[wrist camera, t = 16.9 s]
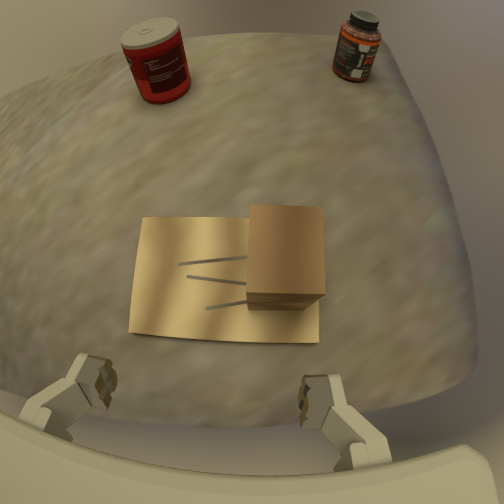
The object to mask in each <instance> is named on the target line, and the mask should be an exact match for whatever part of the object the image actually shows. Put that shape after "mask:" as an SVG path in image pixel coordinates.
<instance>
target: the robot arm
mask: <svg viewBox="0 0 504 504" xmlns="http://www.w3.org/2000/svg"><path fill="white" fill-rule="evenodd" d="M112 365H113V364H112V362H111V360H110V359H106V358H101V357H97V356H92V355H88V354H84V353H80V354H78V355H77V357H76V359H75V361H74V363H73V364H72V366H71V368H70V370H69V372H68V374H67V375H66V377H65V378H61V379H60V380H58V381H56V382H55V383H53V384H52V385H50V386H48V387H47V388H45V389H44V390H42V391H40V392H39V393H37V394H36V395H34V396H32V397H31V398H29V399H28V400H27V402H26V404H25V405H24V407H23V409H22V411H21V413H20V415H19V417H18V419H16V418H13V417H11V416H10V415H8V414H5V413H4V412H2V411H0V504H499V499H498V495H497V490H496V486H495V481H494V478H493V474H492V471H491V468H490V465H489V463H488V461H487V459H486V458H485V457H484V456H482V455H481V454H480V453H479V452H477V451H476V450H474V449H473V448H471V447H469V446H467V445H466V444H458V445H454V446H451V447H448V448H445V449H442V450H439V451H436V452H433V453H429V454H426V455H422V456H418V457H415V458H410V459H406V460H402V461H398V462H394V463H393V462H392V458H391V454H390V450H389V447H388V443H387V439H386V437H385V436H384V435H382V433H380V432H379V431H378V430H377V429H376V428H375V427H374V426H373V425H372V424H370V423H369V422H368V421H367V420H366V419H365V418H364V417H363V416H362V415H361V414H360V413H359V412H357V411H356V410H355V409H354V408H353V407H352V406H351V405H347V401H346V397H345V393H344V389H343V384H342V380H341V376H340V375H339V374H334V375H304V376H303V377H302V386H301V387H300V388H299V394H298V406H299V408H300V410H301V413H300V426H301V429H321V431H322V432H323V433H324V435H325V436H326V437H327V438H328V440H329V441H330V442H331V443H332V445H333V446H334V447H335V448H336V449H337V451H338V452H339V453H340V454H341V456H342V458H341V459H340V460H339V462H338V463H337V464H336V465H335V467H334V472H331V473H321V474H309V475H289V476H250V475H249V476H248V475H229V474H216V473H206V472H197V471H189V470H181V469H175V468H169V467H164V466H158V465H153V464H148V463H143V462H139V461H134V460H130V459H126V458H122V457H118V456H114V455H110V454H107V453H104V452H100V451H97V450H94V449H90V448H87V447H84V446H81V445H78V444H75V443H72V440H73V438H72V436H71V435H70V433H69V432H68V431H67V430H66V429H67V428H68V427H69V426H70V425H71V424H73V423H74V422H75V421H76V420H77V419H78V418H79V417H80V416H81V415H83V414H84V413H85V412H86V411H88V410H89V409H90V408H91V406H93V407H98V408H102V409H107V410H108V407H109V405H110V402H111V399H112V397H111V393H112V392H114V391H115V389H116V386H117V374H116V371H115V370H114V369H112V368H111V367H112Z"/></svg>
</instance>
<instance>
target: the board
mask: <svg viewBox="0 0 504 504" xmlns="http://www.w3.org/2000/svg"><path fill="white" fill-rule="evenodd" d="M248 232H249V218H221V217H143V221H142V226H141V232H140V238H139V245H138V251H137V258H136V265H135V273H134V281H133V289H132V298H131V308H130V319H129V332H131V333H138V334H147V335H156V336H166V337H176V338H188V339H201V340H217V341H236V342H264V343H319V300H317V301H316V302H314V303H313V304H312V305H310V306H309V307H308V308H306V309H305V310H304V311H270V310H248V306H247V297H246V279H247V255H248Z"/></svg>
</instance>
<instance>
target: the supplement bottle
mask: <svg viewBox="0 0 504 504" xmlns="http://www.w3.org/2000/svg"><path fill="white" fill-rule="evenodd" d="M378 24H379V19H378V18H377V17H376V16H375V15H373V14H371V13H369V12H366V11H362V10H353V11H352V12H351V15H350V20H346V21H344V22H343V23H342V25H341V29H340V34H339V38H338V43H337V47H336V52H335V56H334V61H333V69H334V70H335V72H336V73H337V74H338V75H340V76H341V77H343V78H345V79H348V80H351V81H363V80H366V79H367V78H368V76H369V74H370V71H371V68H372V65H373V62H374V59H375V56H376V53H377V50H378V47H379V43H380V41H381V33H380V32H379V30H378V29H377V27H378Z"/></svg>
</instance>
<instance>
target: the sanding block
mask: <svg viewBox="0 0 504 504" xmlns="http://www.w3.org/2000/svg"><path fill="white" fill-rule="evenodd" d="M325 294H326V279H325V248H324V227H323V210H322V207H305V206H285V205H260V204H250V209H249V232H248V255H247V279H246V297H247V306H248V310H270V311H304V310H305V309H306V308H308V307H309V306H310V305H312V304H313V303H314V302H316V301H317V300H319V299H320V298H321V297H323V296H324V295H325Z"/></svg>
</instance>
